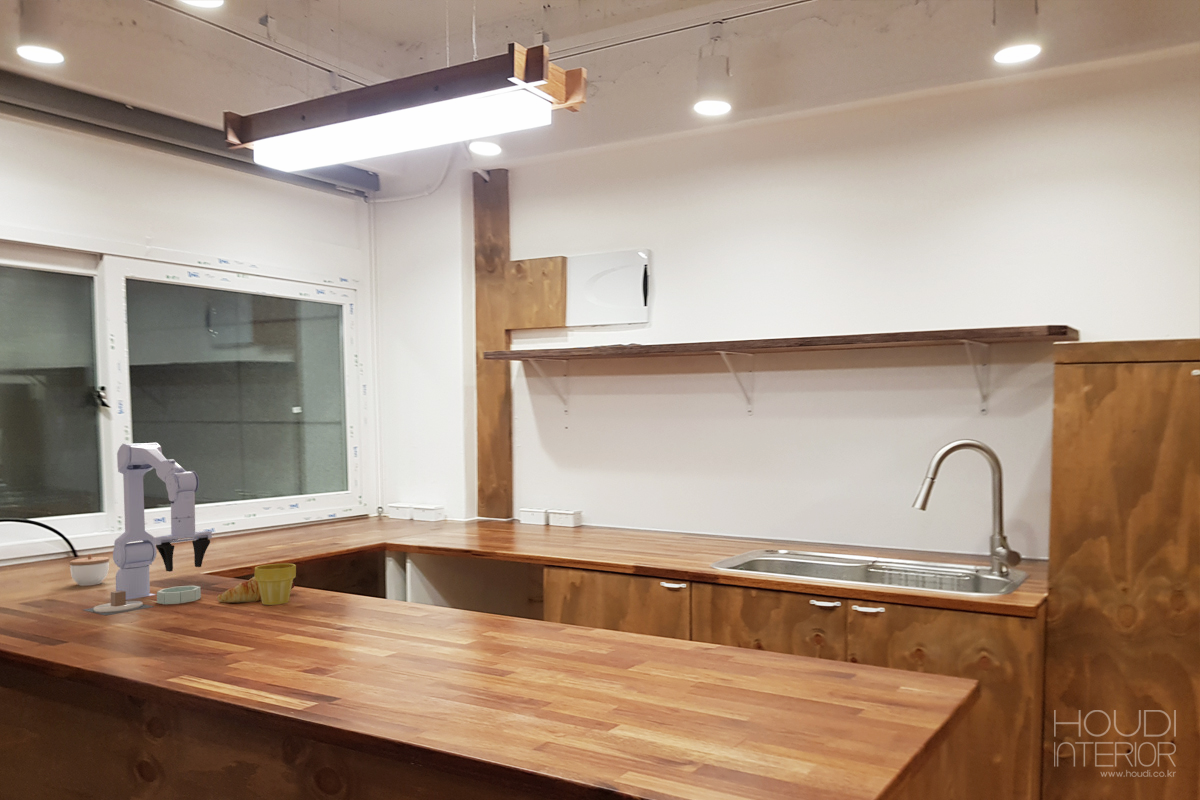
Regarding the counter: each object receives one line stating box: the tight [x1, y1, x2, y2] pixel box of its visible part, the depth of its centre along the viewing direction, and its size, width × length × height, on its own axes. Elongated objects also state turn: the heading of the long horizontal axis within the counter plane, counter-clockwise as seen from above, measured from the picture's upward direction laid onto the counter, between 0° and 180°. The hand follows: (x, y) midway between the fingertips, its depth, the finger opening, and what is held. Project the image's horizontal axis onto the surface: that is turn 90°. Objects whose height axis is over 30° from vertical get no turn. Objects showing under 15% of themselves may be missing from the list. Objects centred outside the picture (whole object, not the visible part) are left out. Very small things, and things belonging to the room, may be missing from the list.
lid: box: [93, 590, 143, 613], centre depth 223 cm, size 11×11×4 cm
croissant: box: [217, 576, 296, 604], centre depth 234 cm, size 21×10×8 cm, turn 136°
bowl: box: [156, 585, 202, 605], centre depth 232 cm, size 10×10×4 cm
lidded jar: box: [69, 553, 110, 587], centre depth 269 cm, size 11×11×9 cm
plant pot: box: [254, 562, 297, 606], centre depth 227 cm, size 10×10×10 cm
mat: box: [82, 603, 155, 616], centre depth 223 cm, size 14×12×1 cm
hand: (183, 569), depth 225 cm, fingers open, 7 cm apart
